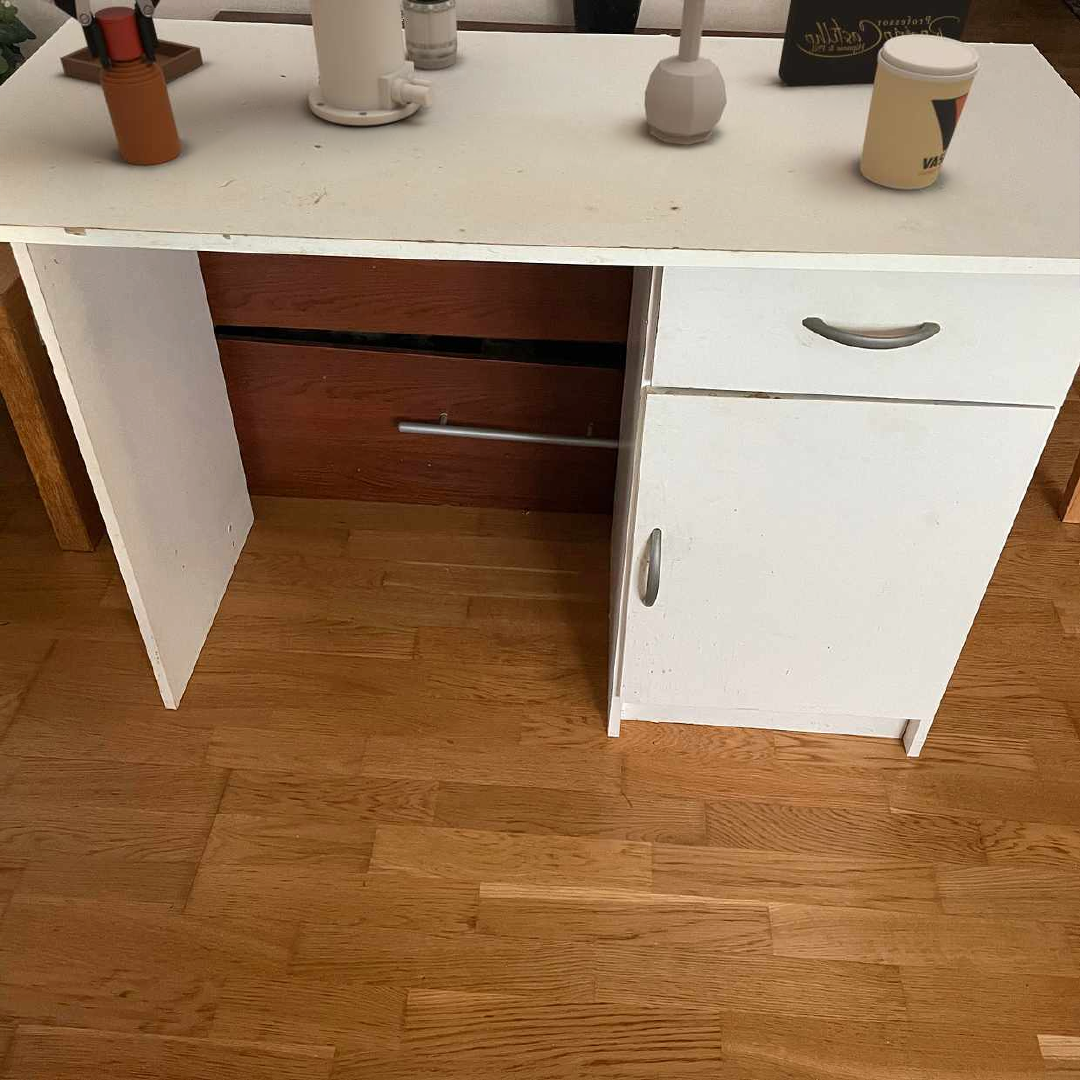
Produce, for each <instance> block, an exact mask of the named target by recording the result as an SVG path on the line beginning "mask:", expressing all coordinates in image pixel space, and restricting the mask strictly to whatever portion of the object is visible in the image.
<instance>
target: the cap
mask: <svg viewBox="0 0 1080 1080" xmlns="http://www.w3.org/2000/svg"><path fill="white" fill-rule="evenodd" d="M134 9H135V8H132V7H128V6H111V7H110V6H109V7H105V8H102V9H99V10H97V11H95V13H94V14H93V16H94V17H95V19H96V22H97V23H98V24H99V27H100V30H101V34H102V37H103V41H104V44H105V48H106V51H107V55H108V58H109V59H113V60H130V59H134V58H138V57H140V56H142V55H143V54H144V53H145V49H144V45H143V41H142V38H141V34H140V30H139V26H138V22H137V18H136V13H135V10H134Z"/></svg>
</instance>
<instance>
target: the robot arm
mask: <svg viewBox="0 0 1080 1080" xmlns="http://www.w3.org/2000/svg"><path fill="white" fill-rule="evenodd" d="M41 1H42V2H45V3H46V4H49V5H53V6H55V7H56V8H58V9H60V10H61V11H62V12H63V13H66V15H68V16H70V17H71V18H73V19H74V20H75V21H77V22H78V23H79V24H80V27H81V29H82V32H83V35H84V40H85V43H86V46H88V50H89V53H90V56H91V58H98V59H99V61H100V63H101V65H102V67H103V69H109V67H111V66H110V62H109V58H108V55H107V51H106V48H105V44H104V41H103V37H102V34H101V30H100V27H99V24H98V23H97V22H96V19H95V16H94V14H93V12H92V10H91V5H90V0H41ZM308 1H309V9H310V14H311V23H312V30H313V37H314V45H315V52H316V59H317V65H318V66H317V68H318V74H319V81H320V83H318V84H317V85H315V86H314V88H312V89H311V90H310V92H309V94H308V104H309V107H310V110H311V112H312V113H313V114H314V115H315V116H318V117H319V118H320V119H323V120H325V121H327V122H329V123H335V124H339V125H345V126H347V125H348V126H378V125H384V124H388V123H392V122H397V121H399V120H403V119H405V118H408V117H409V116H412V115H413V114H414V113H416V111H417V110H419V109H420V107H421V106H424V107H428V108H429V107H432V105H433V104H434V100H435V89H436V83H435V81H434V80H432V79H426V78H418V77H417V75H416V74H415V66H414V62H411V61H410V60H407V59H406V57H405V54H406V53H405V43H404V31H403V17H402V7H401V0H308ZM160 2H161V0H134V5H133V7H134V8H133V9H134V10H135V13H136V18H137V22H138V26H139V30H140V34H141V38H142V41H143V45H144V49H145V53H144V54H145V56H146V58H147V59H148V61H151V62H155V61H156V57H155V53H154V49H158V48H160V47H159V42H158V39H159V37H158V35H157V31H156V27H155V22H154V18H153V16H154V15H155V10H156V8H157V6H158V5H159V3H160Z"/></svg>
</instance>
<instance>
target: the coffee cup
mask: <svg viewBox="0 0 1080 1080" xmlns="http://www.w3.org/2000/svg"><path fill="white" fill-rule="evenodd" d="M980 65H981V64H980V56H979V53H978V51H977V50H976V49H975V48H974V47H972V46H971V45H968V44H967V43H964V42H962V41H961V40H960V41H957V40H953V39H949V38H945V37H940V36H933V35H903V36H898V37H894V38H891V39H890V40H888V41H887V42H886V43H885V44H884V45H883V48H881V49H880V51H879V53H878V66H877V71H876V76H875V81H874V83H873V86H872V94H871V99H870V104H869V110H868V115H867V120H866V121H867V122H866V127H865V133H864V140H863V144H862V145H863V146H862V151H861V156H860V157H861V158H860V164H859V170H860V173H861V174H862V176H863V177H864V178H865V179H867V180H868V181H870V182H872V183H874V184H876V185H879V186H882V187H885V188H890V189H896V190H906V191H907V190H910V191H911V190H920V189H925V188H927V187H930V186H931V185H933V183H935V181H936V180H937V178H938V175H939V172H940V170H941V169H942V165H943V162H944V160H945V157H946V155H947V152H948V149H949V147H950V144H951V142H952V139H953V136H954V134H955V131H956V129H957V126H958V123H959V120H960V118H961V115H962V112H963V110H964V107H965V104H966V102H967V99H968V96H969V93H970V92H971V91H970V90H971V88H972V85H973V82H974V79H975V76H977V74H978V73H979V70H980Z"/></svg>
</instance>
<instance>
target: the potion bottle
mask: <svg viewBox="0 0 1080 1080" xmlns="http://www.w3.org/2000/svg"><path fill="white" fill-rule="evenodd" d="M705 7H706V0H683V7H682V16H681V26H680V34H679V37H680V38H679V45H678V54H674V55H670V56H668V57H666V58H662V59H660V60H659V61H658V62H657V64H656V66H655V67H654V68H653V70H652V72H651V73H650V75H649V78H648V81H647V85H646V89H645V91H644V110H645V117H646V123H647V124H649V125H650V135H651V136H653V137H654V138H657V139H658V140H660V141H662V142H664V143H669V144H678V145H692V144H696V143H702V142H706V141H708V140H709V138H710V137H711V135H712V134H713V132H714V128H715V127H716V126H717V124H718V123H719V122H720V121H721V118H722V116H723V113H724V110H725V108H726V105H727V103H728V101H727V92H726V91H727V90H726V83H725V80H724V78H723V75H722V73H721V71H720V69H719V67H718V66H717V65H716V64H715V62H713V61H712V60H711V59H710V58H706V57H702V56H700V50H701V41H702V33H703V25H704V16H705Z"/></svg>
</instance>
